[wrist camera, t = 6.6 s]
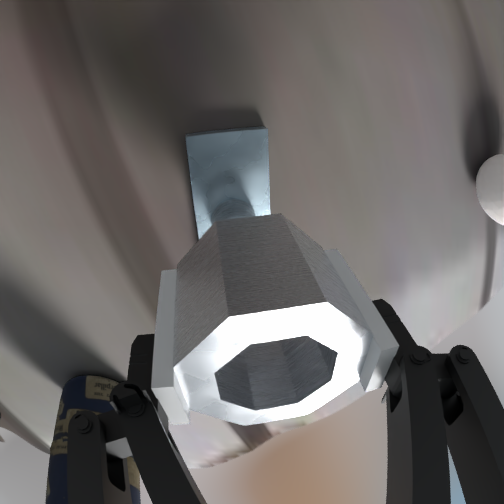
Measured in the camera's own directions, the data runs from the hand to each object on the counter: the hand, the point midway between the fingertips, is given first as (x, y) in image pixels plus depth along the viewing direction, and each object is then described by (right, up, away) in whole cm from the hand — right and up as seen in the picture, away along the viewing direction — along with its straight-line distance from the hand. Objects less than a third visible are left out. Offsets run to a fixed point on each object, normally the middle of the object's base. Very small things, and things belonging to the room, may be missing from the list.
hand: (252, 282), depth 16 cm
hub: (0, 0, 0) cm, 0 cm away
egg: (+22, +9, +8) cm, 25 cm away
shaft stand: (-1, +4, +7) cm, 8 cm away
